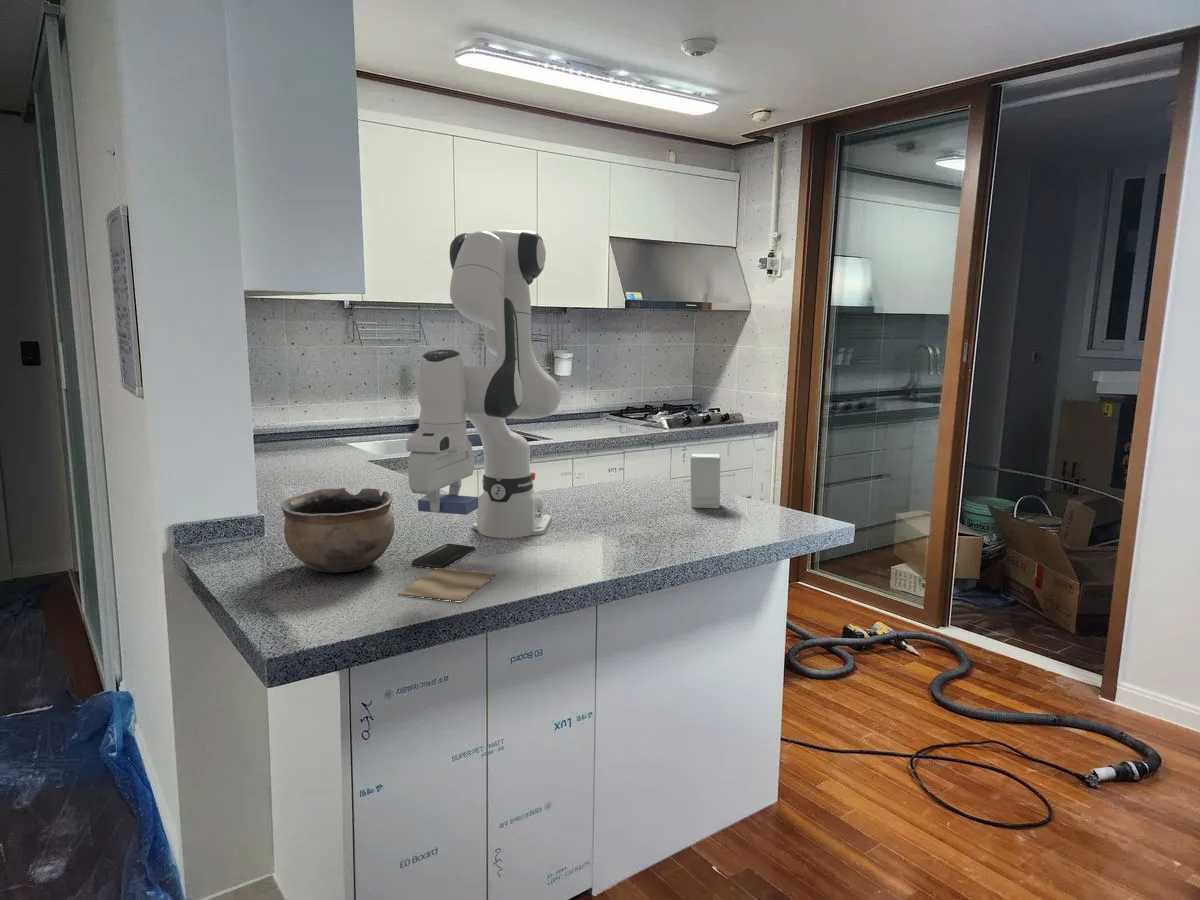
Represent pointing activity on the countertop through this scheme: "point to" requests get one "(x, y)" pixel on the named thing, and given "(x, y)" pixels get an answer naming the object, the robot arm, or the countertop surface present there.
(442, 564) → the phone
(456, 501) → the box
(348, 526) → the ceramic bowl
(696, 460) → the skincare box
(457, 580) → the mat
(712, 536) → the countertop surface
